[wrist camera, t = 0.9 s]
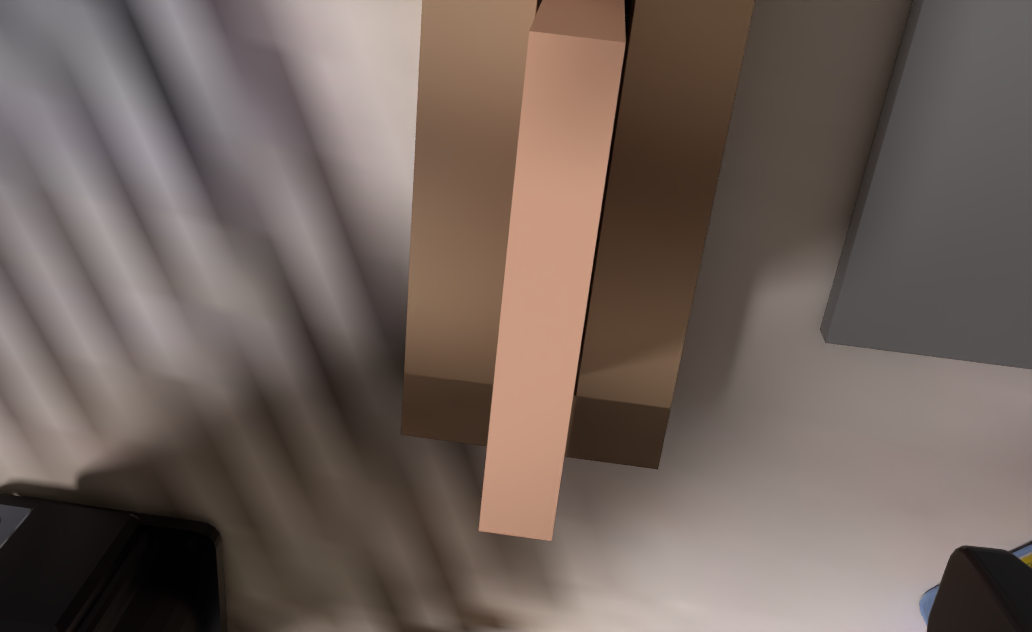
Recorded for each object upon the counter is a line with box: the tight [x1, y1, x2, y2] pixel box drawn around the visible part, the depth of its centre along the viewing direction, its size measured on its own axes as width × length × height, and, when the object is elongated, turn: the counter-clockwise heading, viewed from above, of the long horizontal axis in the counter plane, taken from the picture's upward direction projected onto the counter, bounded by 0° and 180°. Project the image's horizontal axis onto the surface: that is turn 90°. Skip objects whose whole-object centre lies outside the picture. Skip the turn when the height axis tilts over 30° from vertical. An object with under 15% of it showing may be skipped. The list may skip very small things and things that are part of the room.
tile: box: [479, 0, 626, 541], centre depth 17 cm, size 8×1×7 cm, turn 175°
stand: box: [401, 0, 755, 469], centre depth 19 cm, size 12×6×2 cm, turn 175°
